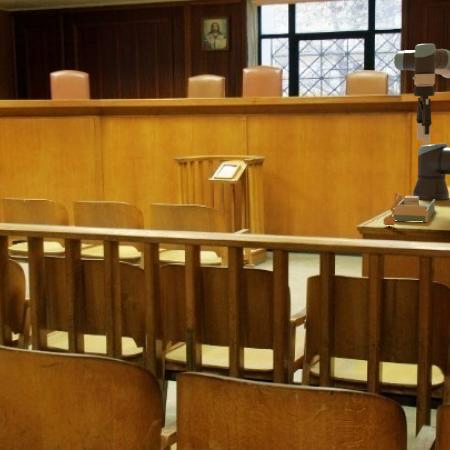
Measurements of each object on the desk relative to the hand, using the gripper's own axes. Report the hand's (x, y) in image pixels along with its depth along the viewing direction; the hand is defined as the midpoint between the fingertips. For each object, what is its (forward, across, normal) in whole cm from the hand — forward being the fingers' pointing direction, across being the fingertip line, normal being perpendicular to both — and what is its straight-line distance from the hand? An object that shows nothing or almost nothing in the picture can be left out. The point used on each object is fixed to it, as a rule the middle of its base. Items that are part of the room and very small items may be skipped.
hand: (423, 141), depth 299 cm
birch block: (+23, +8, -5) cm, 25 cm away
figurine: (+25, +43, -17) cm, 53 cm away
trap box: (+26, +18, -6) cm, 32 cm away
